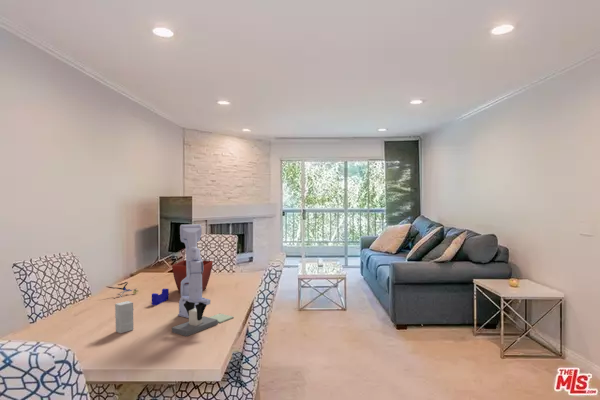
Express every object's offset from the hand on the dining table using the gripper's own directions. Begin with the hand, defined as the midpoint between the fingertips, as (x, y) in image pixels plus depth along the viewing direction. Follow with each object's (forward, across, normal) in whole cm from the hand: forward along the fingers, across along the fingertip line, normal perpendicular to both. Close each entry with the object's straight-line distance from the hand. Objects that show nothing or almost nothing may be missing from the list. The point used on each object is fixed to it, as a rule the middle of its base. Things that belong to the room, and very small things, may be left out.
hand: (195, 319), depth 170 cm
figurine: (+4, -73, +28) cm, 78 cm away
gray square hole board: (+4, 0, 0) cm, 4 cm away
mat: (+4, +3, +15) cm, 16 cm away
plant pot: (+4, -43, +53) cm, 69 cm away
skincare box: (+4, -26, -15) cm, 30 cm away
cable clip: (+4, -44, +26) cm, 51 cm away
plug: (+3, 0, 0) cm, 3 cm away
